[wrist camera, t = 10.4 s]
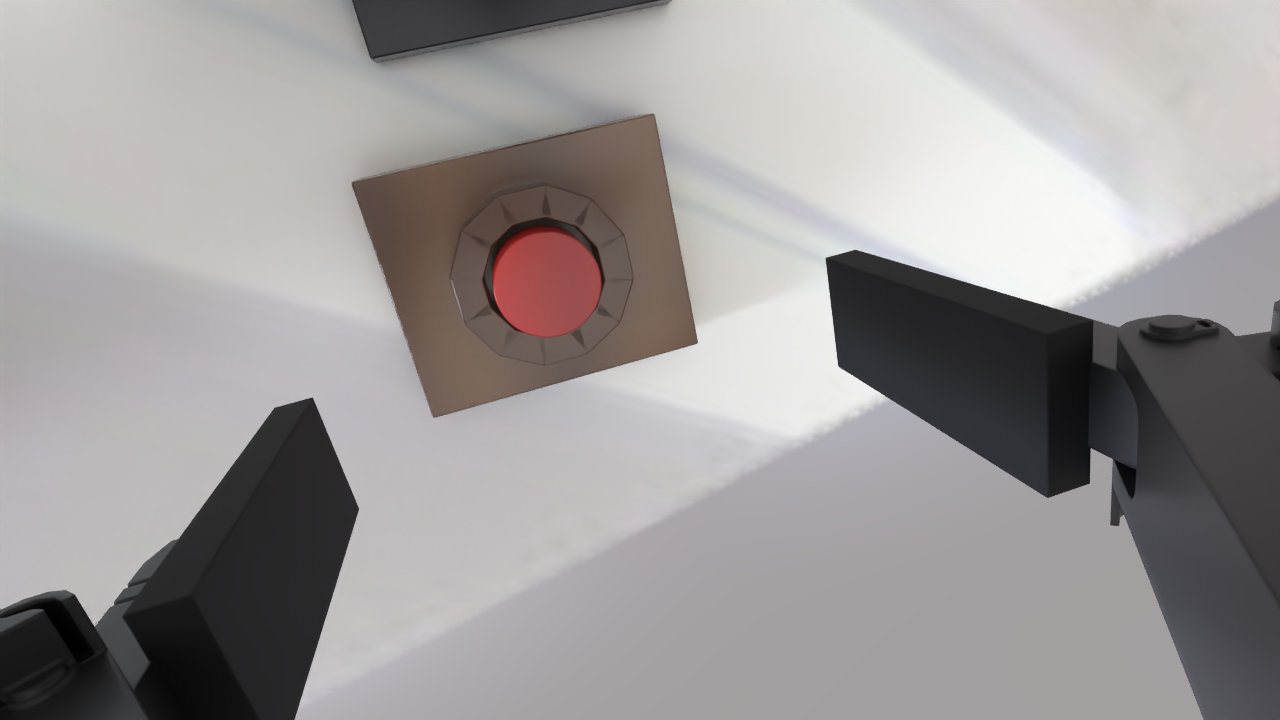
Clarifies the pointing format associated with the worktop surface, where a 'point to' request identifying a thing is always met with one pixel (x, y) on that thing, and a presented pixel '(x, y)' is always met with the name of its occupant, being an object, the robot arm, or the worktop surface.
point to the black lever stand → (469, 21)
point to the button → (546, 281)
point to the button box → (498, 209)
